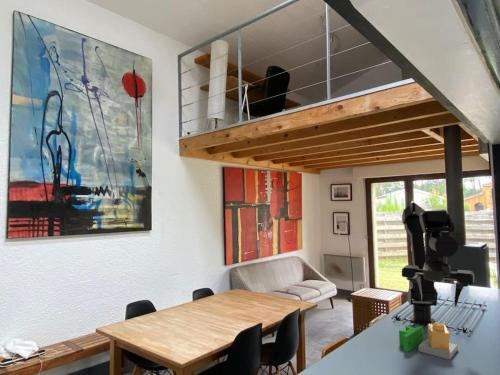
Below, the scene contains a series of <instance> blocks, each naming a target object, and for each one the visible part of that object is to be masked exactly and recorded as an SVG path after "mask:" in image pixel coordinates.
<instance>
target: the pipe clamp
mask: <svg viewBox="0 0 500 375" xmlns="http://www.w3.org/2000/svg"><path fill="white" fill-rule="evenodd" d="M398 340H399V346H400V347H403V351H404V352H406V353H409V352H410V351H411V350H413V349H415V348H416V347H418V346H419V345H420V344H421V343H422V342H423V341H424V340H425V339H424V327H423V326H422V325H418V326H416V327H412V326H407V325H406V326H405V330H402V329H399V330H398Z"/></svg>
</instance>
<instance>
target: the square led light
mask: <svg viewBox="0 0 500 375" xmlns="http://www.w3.org/2000/svg"><path fill="white" fill-rule="evenodd" d="M446 326H447V325H446V324H443V323H441V322H437V321H434V322H433V323H432V324H428V325H427V338H428V340H429V343H430V345H431V347H432V348H440V349H449V343H450V332H449V330H448V329H447V327H446Z"/></svg>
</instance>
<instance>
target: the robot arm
mask: <svg viewBox="0 0 500 375" xmlns="http://www.w3.org/2000/svg"><path fill="white" fill-rule="evenodd" d="M401 222H402V224H403V227H404V230H405V231H406V233H407V234H408V235H409V239H410V248H411V249H410V250H411V251H410V252H411V258H412V259H411V260H412V265H409V264H406V265H405V266H404V267H402V269H401V277H402V278H406V280H407V281H410V282H409V288H408V290H407V294H406V295H407V296H406V297H407V302H408V304H409V305H410V306H412V310H413V311H412V313H413V314H412V316H413V317H412V318H410V320H409V321H410V322H411V323H417V324H421V325H425V326H428V324H433V323H434V322H436V319H434V318H432V306H434V307H437V304H438V295H439V292H438V291H437V288H435V281H436V282H442V281H443V279H451V280H452V279H453V280H456V283H455V293H454V306H456V307H457V305H458V303H459V298H460V296H461V292H462V291H463V289H464V287H465V288H467V287H469V285H474V282H475V273H474V272H473V270H466V269H465V270H464V269H458V270H457V272H456V271H455V272H453V271H452V269H451V264H450V263H448V258H449V257H453V256H454V255H456V253H457V252H458V249H459V245H458V241H457V240H456V239H455V238H454V237H452V236H450V234H453V233H455V225H454V224H455V223H454V222H453V219H452V216H451V215H450V213H449V212H448V211H447V210H446V209H445V208H434V207H433V206H431V204H429V203H428V201H426V200H412V201H410V204H409V205H408V206H406V207H405V208H404V209H403V211H402V215H401Z"/></svg>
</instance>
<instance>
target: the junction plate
mask: <svg viewBox="0 0 500 375" xmlns="http://www.w3.org/2000/svg"><path fill="white" fill-rule="evenodd" d="M458 351H459V347H458V344H457V343H456V344H455V343H451V342H449V349H440V348H432V347H431V345H430V343H429V340H428V337H426V338H425V339H424V341H423V342H422V343H420V344H419V345H418V352H420V353H424V354H426V355H427V354H428V355H431V356H435V357H439V358H442V359H445V360H452V358H453V356H455V355H456V353H457V352H458Z"/></svg>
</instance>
